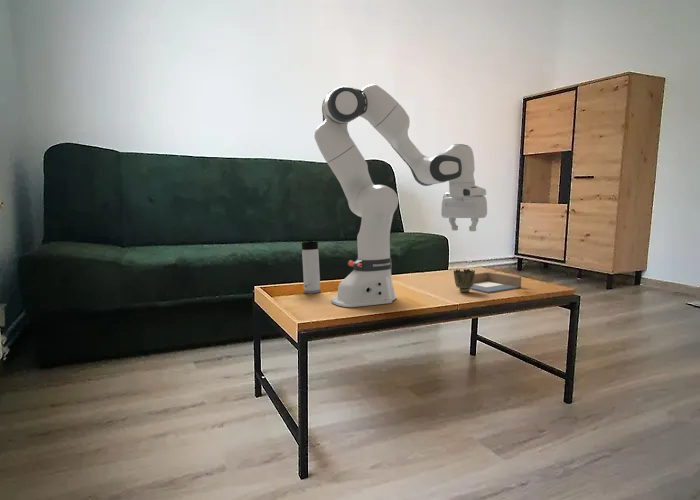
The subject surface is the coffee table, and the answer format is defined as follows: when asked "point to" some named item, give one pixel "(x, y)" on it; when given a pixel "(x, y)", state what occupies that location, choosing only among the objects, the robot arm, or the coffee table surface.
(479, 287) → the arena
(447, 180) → the robot arm
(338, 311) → the coffee table surface
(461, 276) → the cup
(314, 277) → the travel mug
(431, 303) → the coffee table surface
